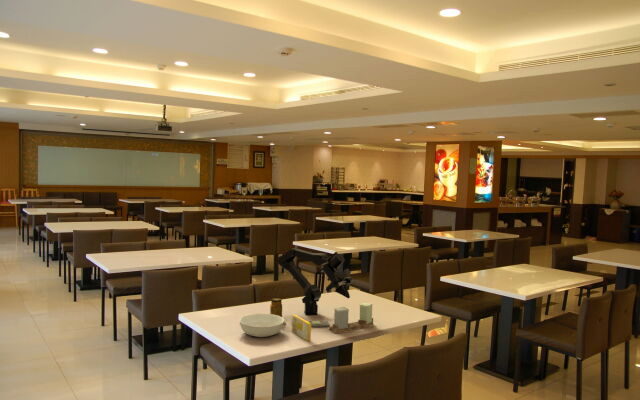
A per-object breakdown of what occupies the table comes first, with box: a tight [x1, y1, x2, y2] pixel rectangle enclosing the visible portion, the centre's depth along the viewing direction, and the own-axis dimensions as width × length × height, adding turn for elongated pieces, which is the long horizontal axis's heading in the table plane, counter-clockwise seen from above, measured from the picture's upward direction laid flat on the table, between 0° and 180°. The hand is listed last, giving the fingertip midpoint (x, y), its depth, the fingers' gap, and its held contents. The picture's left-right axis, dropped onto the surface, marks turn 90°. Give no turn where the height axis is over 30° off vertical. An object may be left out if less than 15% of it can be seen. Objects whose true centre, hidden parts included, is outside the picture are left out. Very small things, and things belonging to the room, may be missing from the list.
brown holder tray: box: [328, 317, 374, 334], centre depth 241 cm, size 25×9×4 cm, turn 127°
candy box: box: [291, 314, 312, 342], centre depth 227 cm, size 16×2×8 cm, turn 30°
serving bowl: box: [239, 313, 285, 338], centre depth 229 cm, size 21×21×7 cm
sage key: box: [359, 301, 373, 324], centre depth 245 cm, size 4×6×9 cm
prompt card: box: [308, 320, 331, 329], centre depth 244 cm, size 10×7×2 cm
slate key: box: [333, 306, 350, 329], centre depth 235 cm, size 4×6×9 cm
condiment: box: [269, 297, 287, 325], centre depth 248 cm, size 7×8×12 cm
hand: (349, 297), depth 250 cm, fingers closed
